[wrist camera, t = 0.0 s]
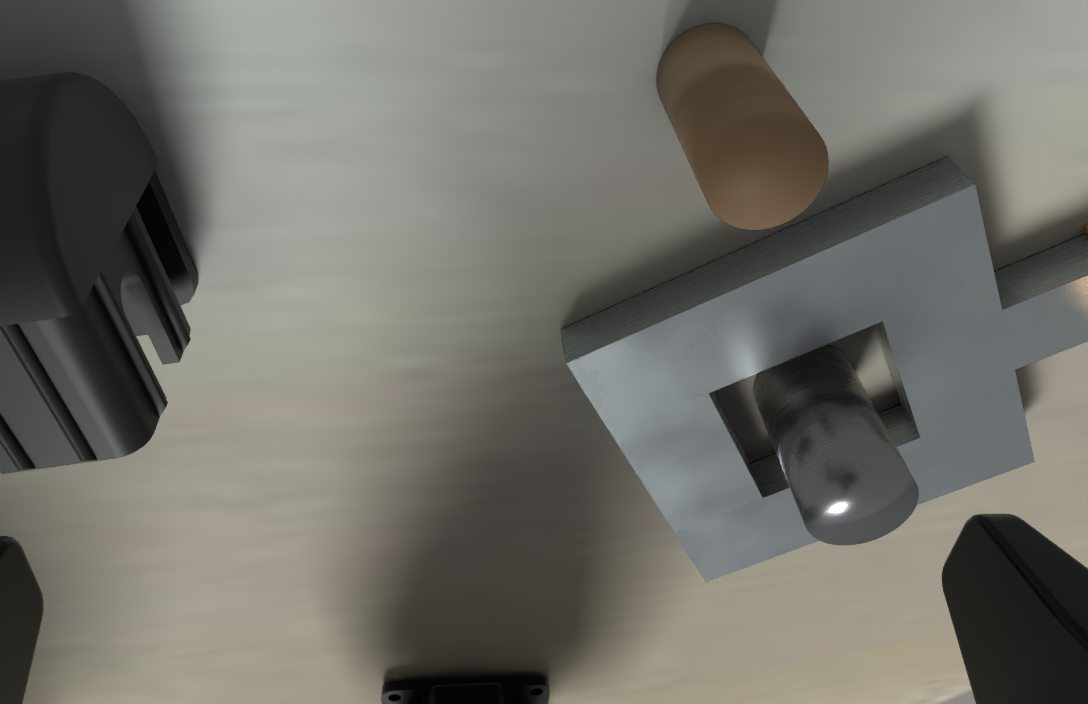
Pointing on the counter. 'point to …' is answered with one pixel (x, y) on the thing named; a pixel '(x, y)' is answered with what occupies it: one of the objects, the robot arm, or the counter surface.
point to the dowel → (740, 129)
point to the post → (834, 449)
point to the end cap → (82, 275)
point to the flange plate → (814, 321)
